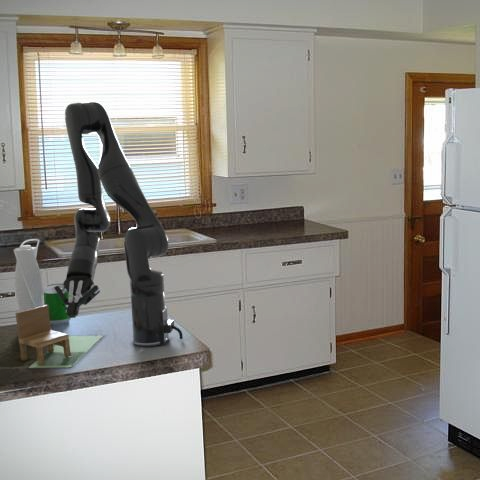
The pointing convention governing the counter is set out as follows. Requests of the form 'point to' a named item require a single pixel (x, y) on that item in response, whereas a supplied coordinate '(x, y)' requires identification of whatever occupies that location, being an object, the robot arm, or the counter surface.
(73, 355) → the mat
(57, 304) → the soda can
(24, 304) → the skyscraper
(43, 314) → the chair
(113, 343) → the counter surface
